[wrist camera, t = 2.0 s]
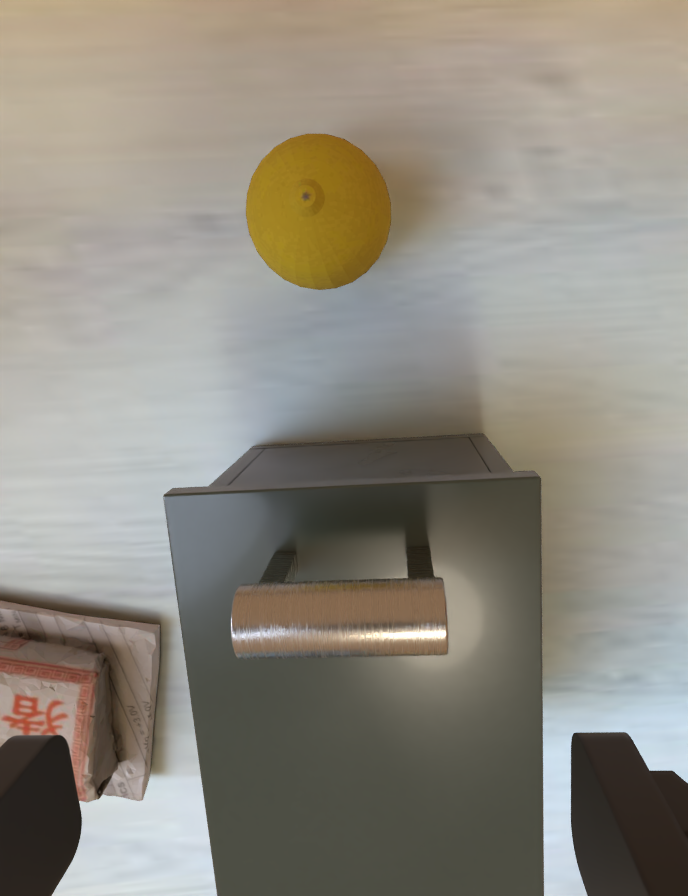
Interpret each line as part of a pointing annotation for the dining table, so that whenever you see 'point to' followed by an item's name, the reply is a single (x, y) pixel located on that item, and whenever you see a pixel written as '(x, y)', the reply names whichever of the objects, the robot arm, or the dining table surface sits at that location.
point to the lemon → (318, 211)
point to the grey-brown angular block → (82, 692)
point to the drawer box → (365, 460)
